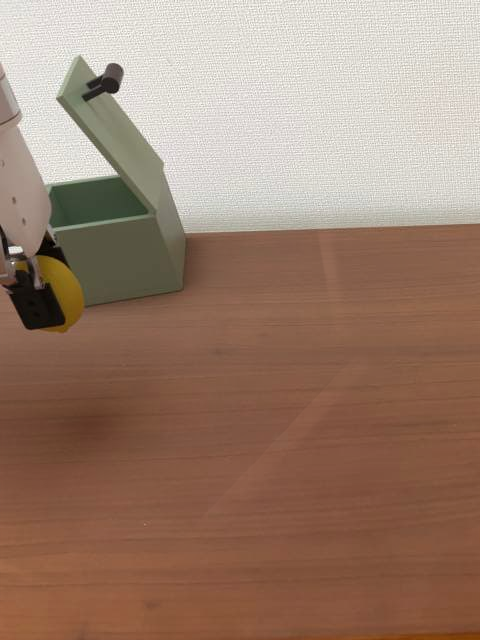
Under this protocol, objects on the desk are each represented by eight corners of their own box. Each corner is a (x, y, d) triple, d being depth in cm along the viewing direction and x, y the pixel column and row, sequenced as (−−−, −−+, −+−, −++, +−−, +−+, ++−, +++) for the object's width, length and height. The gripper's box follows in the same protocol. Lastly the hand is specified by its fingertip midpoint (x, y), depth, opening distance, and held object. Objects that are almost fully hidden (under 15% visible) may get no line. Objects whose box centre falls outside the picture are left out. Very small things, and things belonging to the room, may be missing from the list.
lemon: (17, 341, 74) (-23, 264, 69) (65, 310, 78) (31, 235, 73) (63, 355, 73) (26, 277, 68) (110, 322, 77) (78, 246, 72)
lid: (55, 98, 83) (98, 75, 83) (74, 57, 94) (112, 37, 93) (151, 214, 93) (189, 194, 93) (158, 166, 103) (193, 147, 103)
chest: (60, 310, 97) (24, 235, 91) (76, 254, 107) (45, 184, 101) (182, 290, 100) (155, 216, 94) (186, 238, 110) (162, 167, 104)
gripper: (-66, 74, 68) (24, 265, 79) (-133, 157, 55) (-14, 370, 67) (33, 65, 69) (107, 254, 81) (-10, 144, 57) (85, 354, 68)
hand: (51, 305), depth 74 cm, fingers closed on lemon, 5 cm apart
